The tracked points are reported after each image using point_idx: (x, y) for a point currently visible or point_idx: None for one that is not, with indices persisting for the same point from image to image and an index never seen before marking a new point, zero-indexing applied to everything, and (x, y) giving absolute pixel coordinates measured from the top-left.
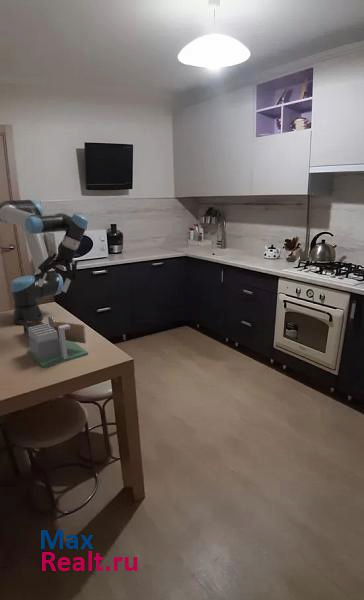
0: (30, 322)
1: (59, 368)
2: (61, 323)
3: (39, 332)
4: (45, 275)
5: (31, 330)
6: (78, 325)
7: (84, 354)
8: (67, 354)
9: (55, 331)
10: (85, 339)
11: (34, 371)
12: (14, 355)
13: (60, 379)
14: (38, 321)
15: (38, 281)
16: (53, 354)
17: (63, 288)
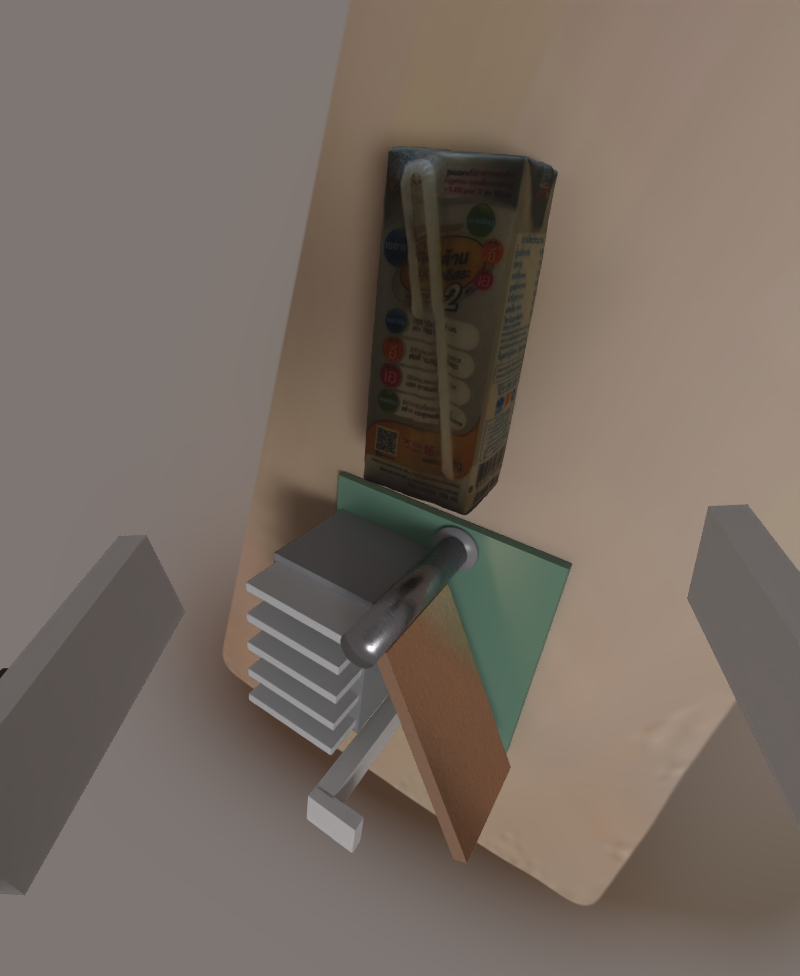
0: (419, 226)
1: None
2: (401, 714)
3: (267, 684)
4: (41, 831)
5: (253, 619)
6: (443, 831)
7: None
8: None
9: (323, 749)
10: (501, 782)
11: None
12: (292, 459)
13: (340, 744)
14: (495, 229)
15: (84, 578)
16: None
17: (725, 577)
